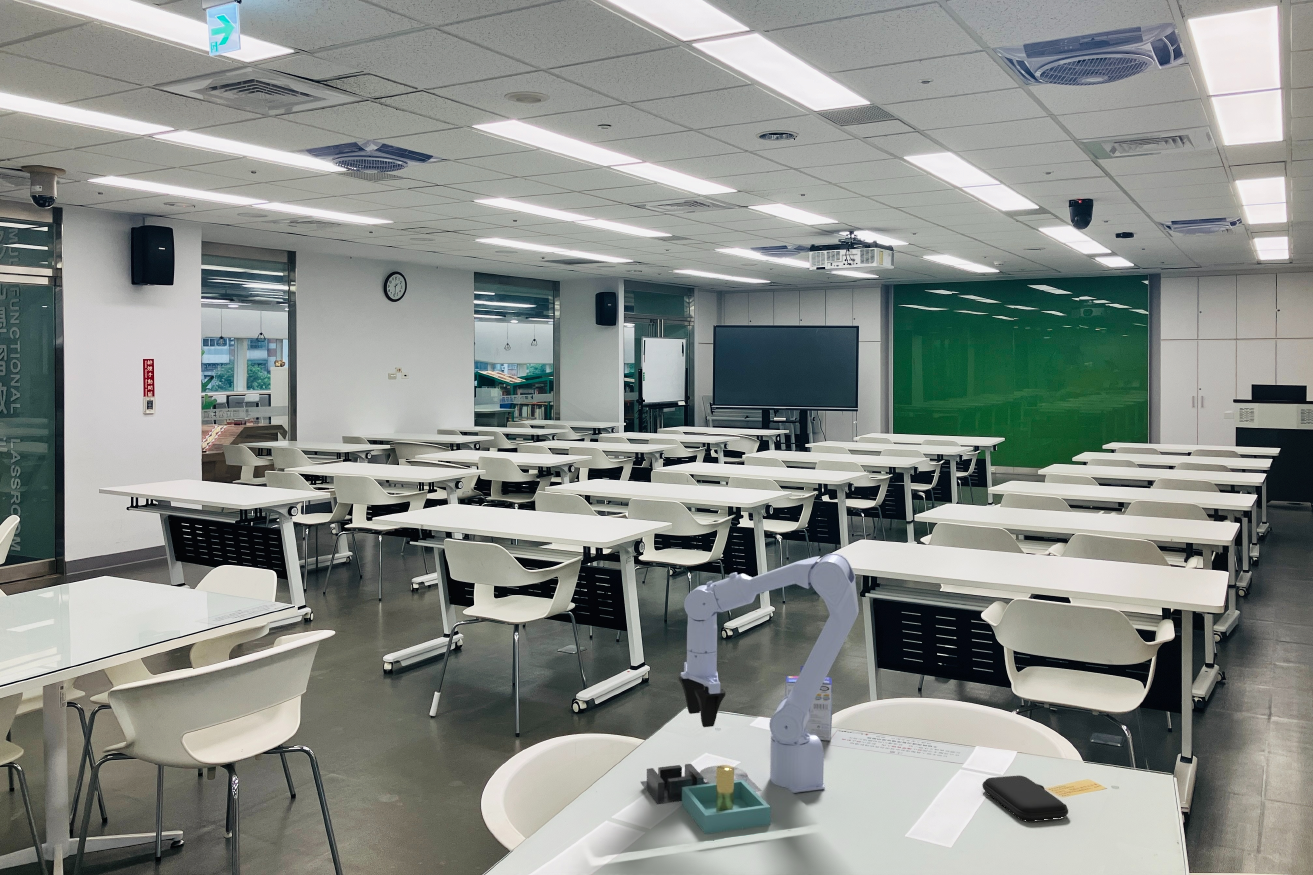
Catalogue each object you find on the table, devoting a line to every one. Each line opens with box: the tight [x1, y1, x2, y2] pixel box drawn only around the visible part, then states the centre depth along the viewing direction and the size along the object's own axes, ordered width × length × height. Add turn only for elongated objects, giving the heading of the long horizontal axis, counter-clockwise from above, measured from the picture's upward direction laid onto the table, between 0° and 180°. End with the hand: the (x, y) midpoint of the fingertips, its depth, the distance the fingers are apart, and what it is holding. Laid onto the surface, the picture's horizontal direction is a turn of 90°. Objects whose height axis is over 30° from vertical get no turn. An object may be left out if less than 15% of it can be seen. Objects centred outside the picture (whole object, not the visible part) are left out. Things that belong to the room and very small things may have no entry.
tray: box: [681, 780, 771, 835], centre depth 164 cm, size 12×12×4 cm
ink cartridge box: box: [784, 665, 833, 741], centre depth 204 cm, size 10×6×14 cm, turn 82°
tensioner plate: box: [640, 763, 763, 805], centre depth 176 cm, size 20×10×4 cm, turn 108°
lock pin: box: [716, 764, 734, 812], centre depth 164 cm, size 3×3×8 cm
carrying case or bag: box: [981, 775, 1069, 822], centre depth 172 cm, size 11×3×15 cm
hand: (701, 719), depth 184 cm, fingers open, 7 cm apart
